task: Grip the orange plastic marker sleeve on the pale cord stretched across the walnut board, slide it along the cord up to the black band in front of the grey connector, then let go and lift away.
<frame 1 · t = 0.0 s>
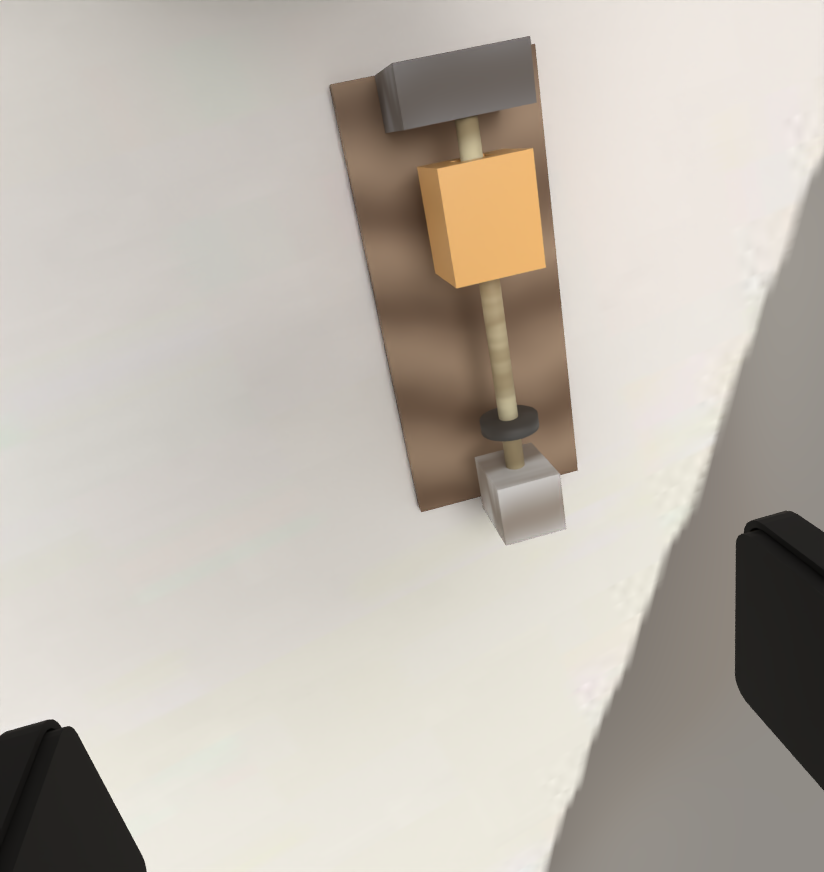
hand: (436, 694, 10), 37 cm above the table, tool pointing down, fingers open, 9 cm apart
marker sleeve: (480, 216, 38), point 6 cm above the table, slide at 0.0 cm
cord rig: (467, 301, 46), on the table
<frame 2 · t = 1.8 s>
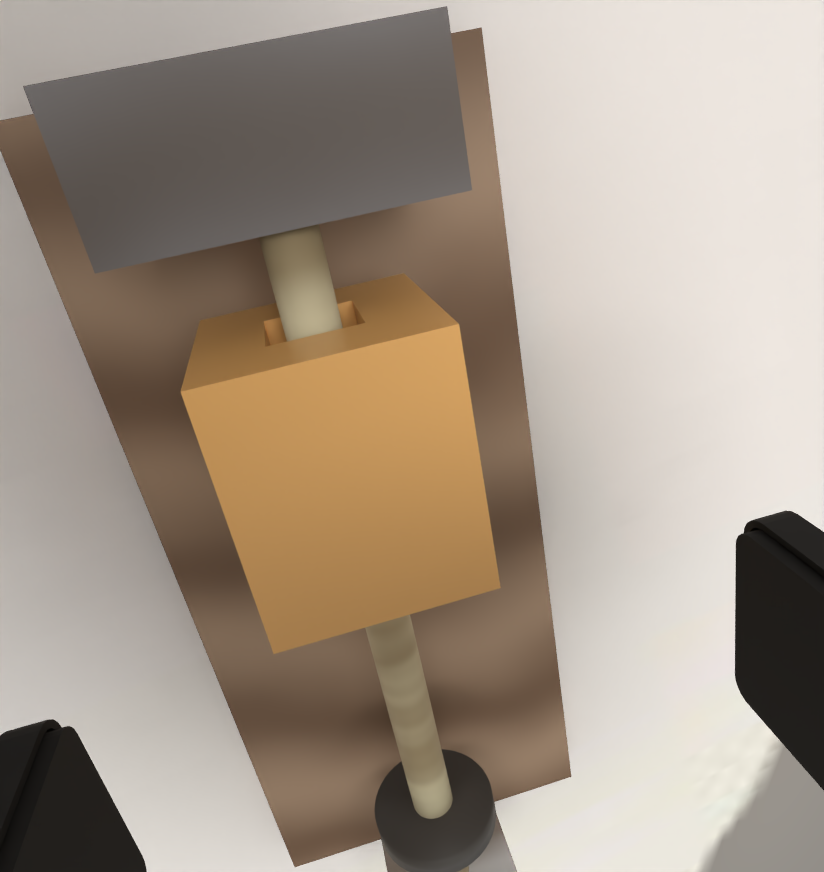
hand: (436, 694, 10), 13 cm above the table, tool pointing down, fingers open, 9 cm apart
marker sleeve: (343, 448, 16), point 6 cm above the table, slide at 0.0 cm
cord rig: (361, 530, 24), on the table
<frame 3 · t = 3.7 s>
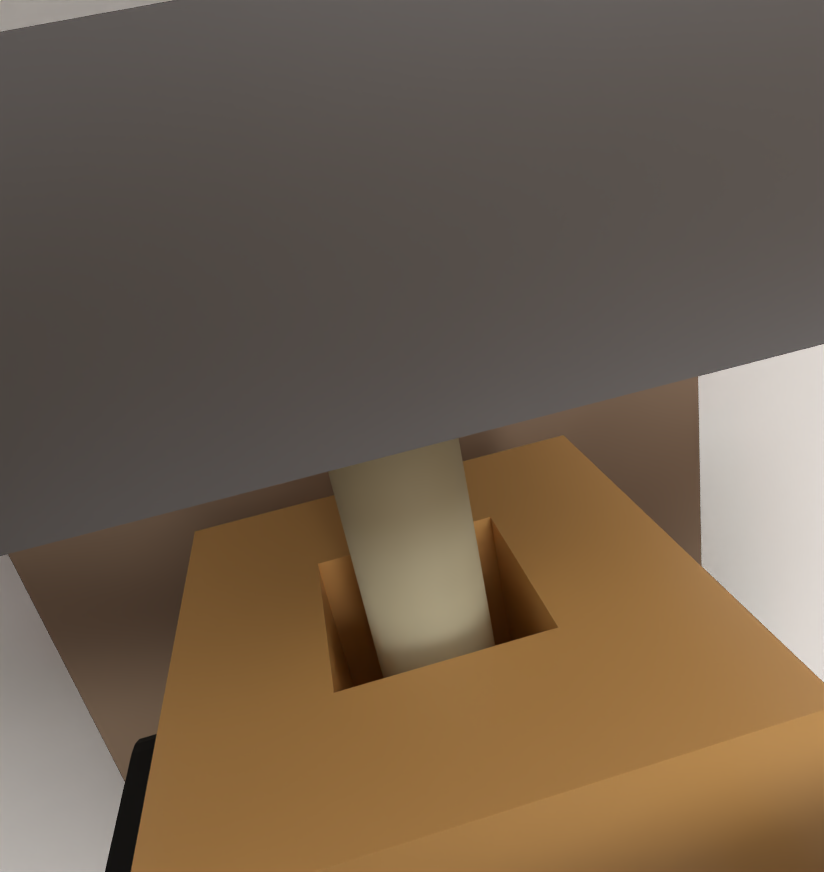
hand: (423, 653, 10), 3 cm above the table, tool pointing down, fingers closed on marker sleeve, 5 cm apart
marker sleeve: (469, 799, 8), point 6 cm above the table, slide at 0.0 cm, touching gripper
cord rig: (439, 754, 16), on the table
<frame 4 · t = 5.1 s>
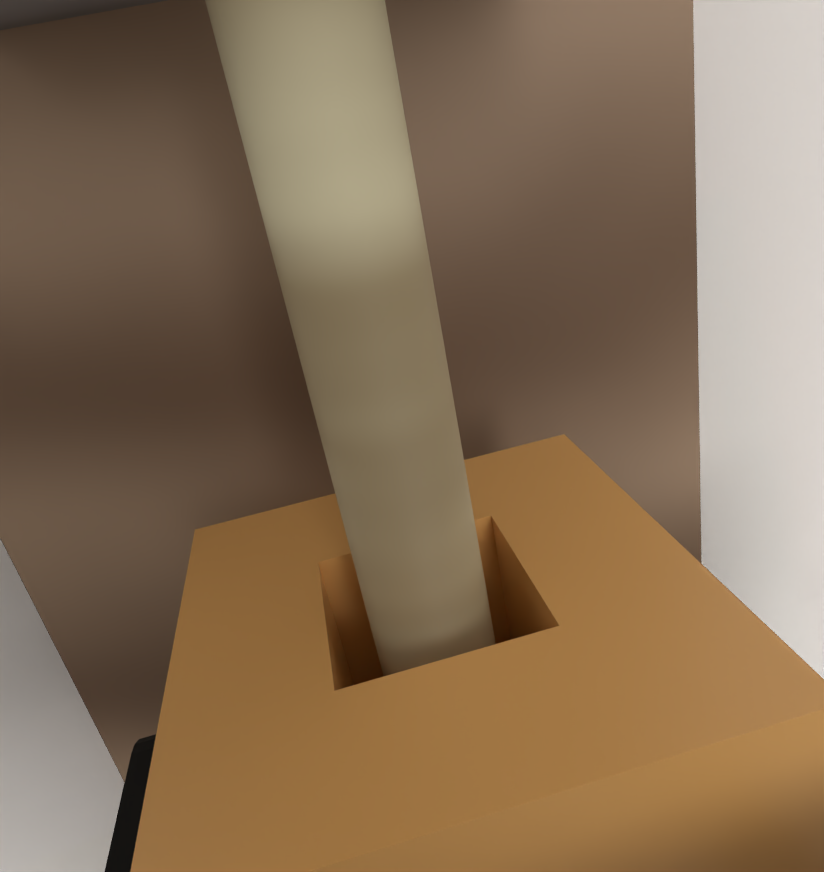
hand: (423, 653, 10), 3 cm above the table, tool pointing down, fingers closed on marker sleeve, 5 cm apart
marker sleeve: (469, 798, 8), point 6 cm above the table, slide at 4.1 cm, touching gripper
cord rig: (405, 614, 14), on the table
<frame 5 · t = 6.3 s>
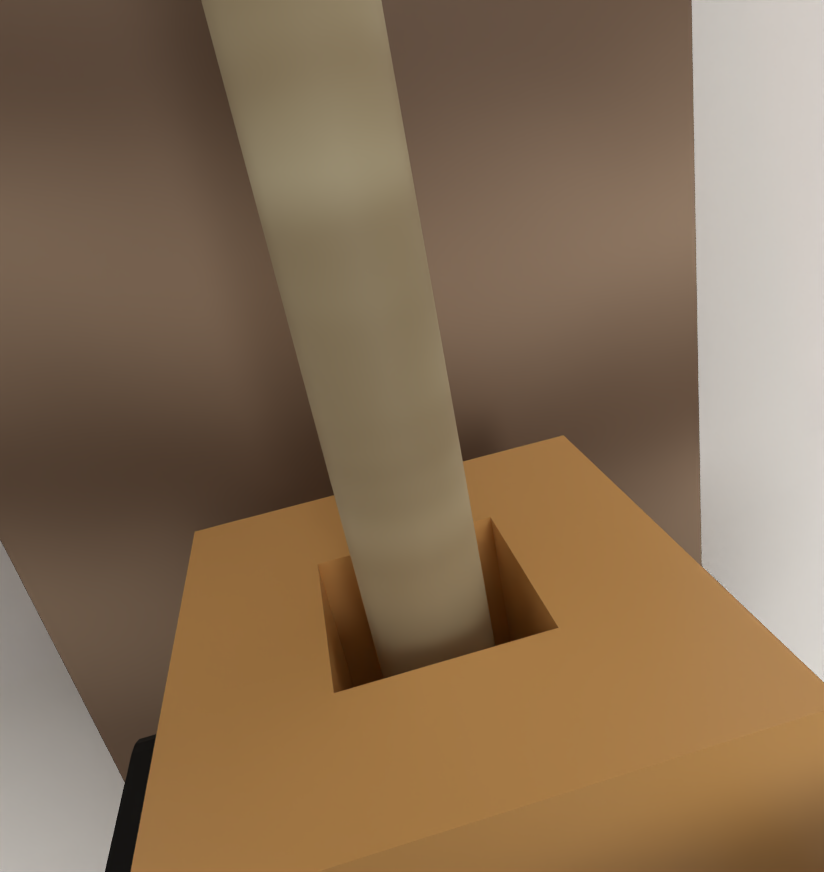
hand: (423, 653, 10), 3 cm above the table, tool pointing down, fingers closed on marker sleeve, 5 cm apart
marker sleeve: (469, 799, 8), point 6 cm above the table, slide at 8.6 cm, touching gripper
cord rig: (358, 417, 12), on the table
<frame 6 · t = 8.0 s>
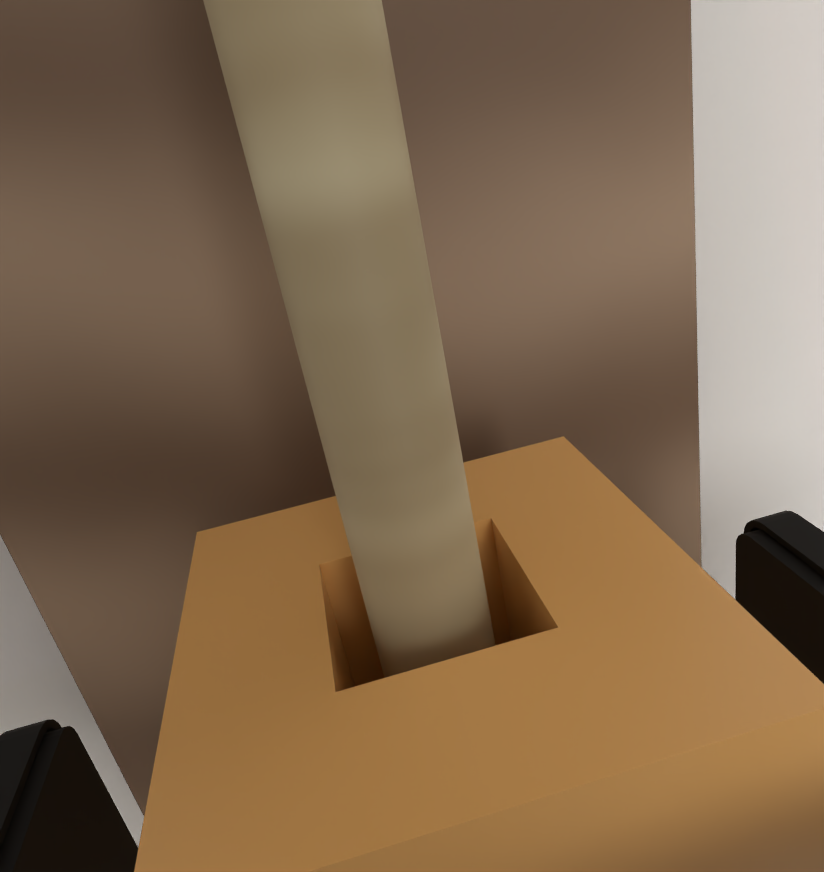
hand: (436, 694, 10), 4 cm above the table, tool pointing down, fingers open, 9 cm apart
marker sleeve: (470, 798, 8), point 6 cm above the table, slide at 8.6 cm
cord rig: (359, 418, 12), on the table
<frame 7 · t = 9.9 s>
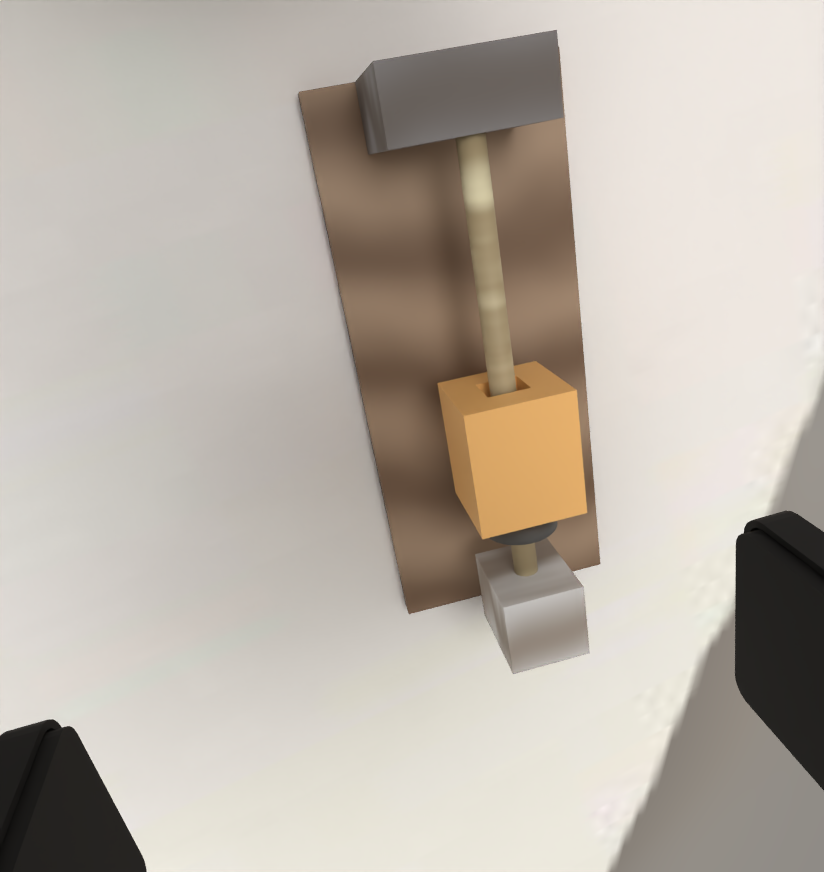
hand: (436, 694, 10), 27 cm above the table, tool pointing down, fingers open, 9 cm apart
marker sleeve: (510, 446, 32), point 6 cm above the table, slide at 8.6 cm
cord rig: (469, 362, 37), on the table
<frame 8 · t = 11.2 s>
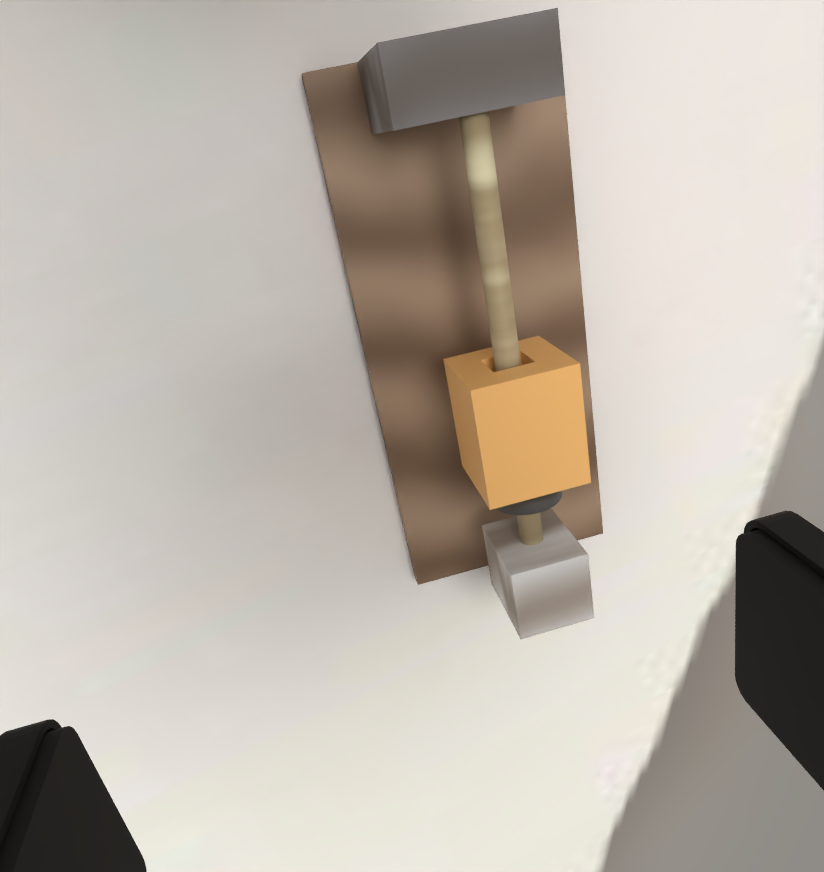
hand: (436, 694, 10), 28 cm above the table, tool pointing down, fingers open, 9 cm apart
marker sleeve: (515, 419, 33), point 6 cm above the table, slide at 8.6 cm
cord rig: (473, 337, 38), on the table
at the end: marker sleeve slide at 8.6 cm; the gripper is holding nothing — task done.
